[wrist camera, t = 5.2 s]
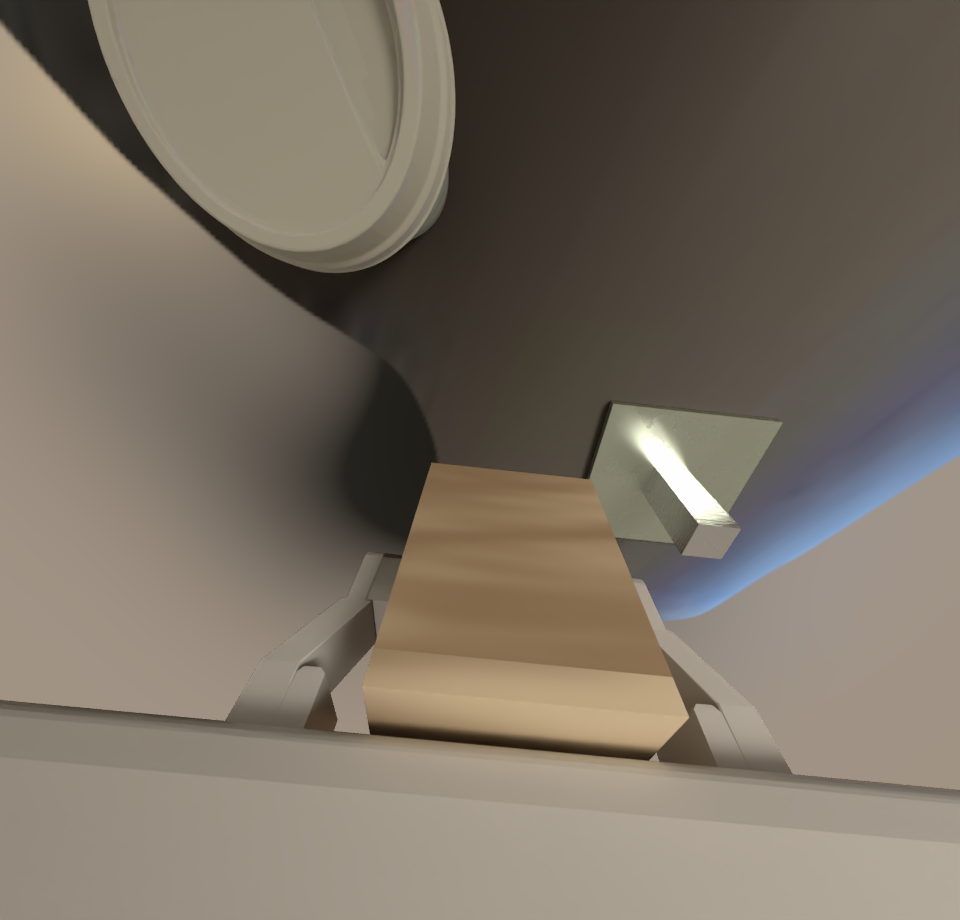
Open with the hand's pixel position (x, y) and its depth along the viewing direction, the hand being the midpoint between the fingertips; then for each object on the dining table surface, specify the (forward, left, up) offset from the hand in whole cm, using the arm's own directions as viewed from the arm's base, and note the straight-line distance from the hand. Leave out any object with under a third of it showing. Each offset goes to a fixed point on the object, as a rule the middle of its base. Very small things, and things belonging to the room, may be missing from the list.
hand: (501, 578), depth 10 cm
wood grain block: (0, 0, -2) cm, 2 cm away
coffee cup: (-12, -7, -16) cm, 21 cm away
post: (+5, +14, -16) cm, 22 cm away
